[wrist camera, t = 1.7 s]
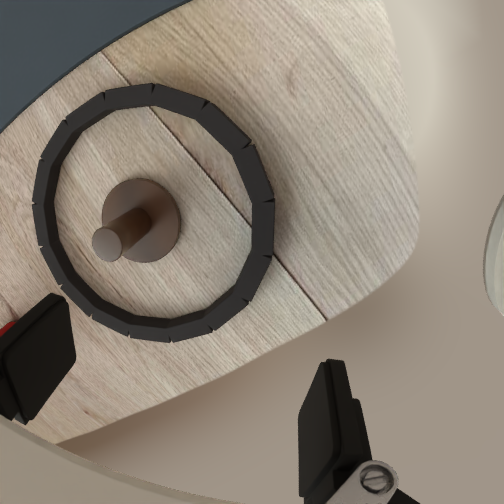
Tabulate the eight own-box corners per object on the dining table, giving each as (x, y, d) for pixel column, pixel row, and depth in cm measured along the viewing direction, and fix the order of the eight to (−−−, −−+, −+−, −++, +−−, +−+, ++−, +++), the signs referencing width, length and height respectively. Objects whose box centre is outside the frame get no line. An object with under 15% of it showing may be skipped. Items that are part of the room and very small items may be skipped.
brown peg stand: (159, 163, 24) (125, 174, 18) (195, 244, 26) (172, 275, 20) (92, 199, 25) (51, 217, 19) (127, 270, 27) (95, 303, 21)
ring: (210, 41, 20) (205, 35, 18) (311, 293, 26) (313, 303, 25) (16, 164, 24) (5, 166, 23) (109, 349, 31) (103, 358, 29)
